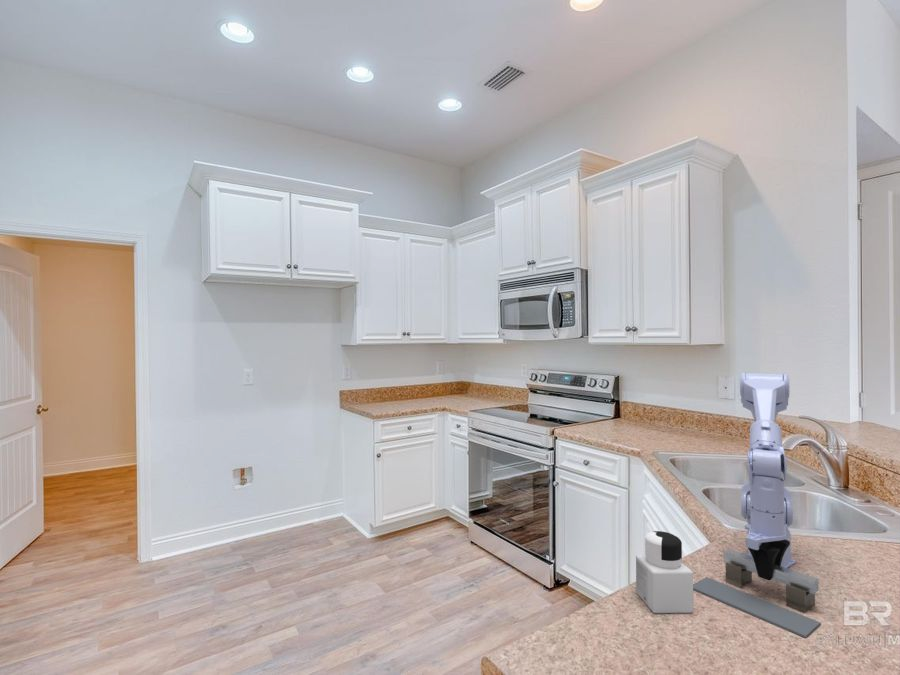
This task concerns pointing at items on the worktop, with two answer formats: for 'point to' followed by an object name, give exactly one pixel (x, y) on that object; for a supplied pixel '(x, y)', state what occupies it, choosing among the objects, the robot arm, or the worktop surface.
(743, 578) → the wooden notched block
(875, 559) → the worktop surface
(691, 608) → the lidar sensor
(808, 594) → the post
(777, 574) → the rail
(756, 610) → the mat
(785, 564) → the robot arm
